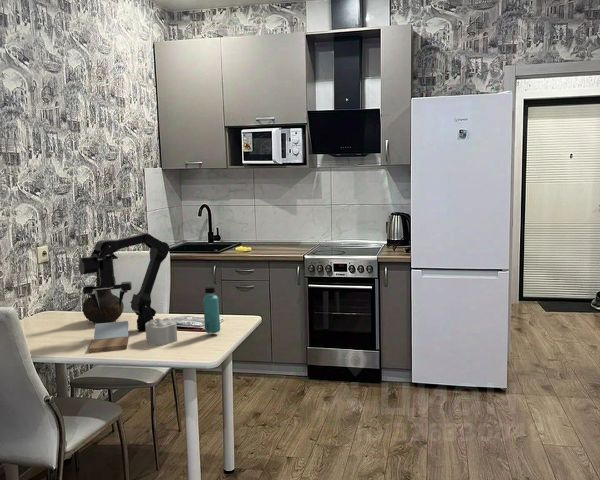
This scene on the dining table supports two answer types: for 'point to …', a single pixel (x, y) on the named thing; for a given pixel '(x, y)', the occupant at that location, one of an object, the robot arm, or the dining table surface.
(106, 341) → the walnut floor board
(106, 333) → the floor tile
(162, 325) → the lumpy-topped squat cylinder
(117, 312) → the brown flower vase
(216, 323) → the beverage bottle
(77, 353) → the dining table surface
